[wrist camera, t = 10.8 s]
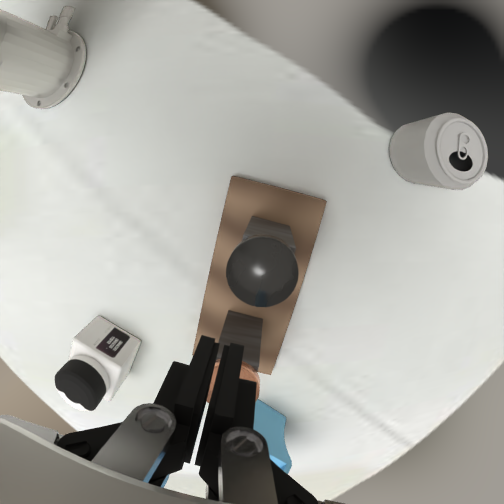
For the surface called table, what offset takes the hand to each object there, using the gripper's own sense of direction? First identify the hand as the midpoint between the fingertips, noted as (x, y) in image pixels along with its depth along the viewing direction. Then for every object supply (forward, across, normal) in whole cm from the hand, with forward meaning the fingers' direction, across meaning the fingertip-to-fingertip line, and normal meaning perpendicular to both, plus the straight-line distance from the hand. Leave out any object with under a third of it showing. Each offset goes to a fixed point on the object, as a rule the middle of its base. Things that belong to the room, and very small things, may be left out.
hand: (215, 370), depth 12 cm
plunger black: (+25, -2, 0) cm, 25 cm away
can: (+27, -17, -15) cm, 35 cm away
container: (+28, +16, +22) cm, 39 cm away
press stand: (+27, -2, +6) cm, 28 cm away
